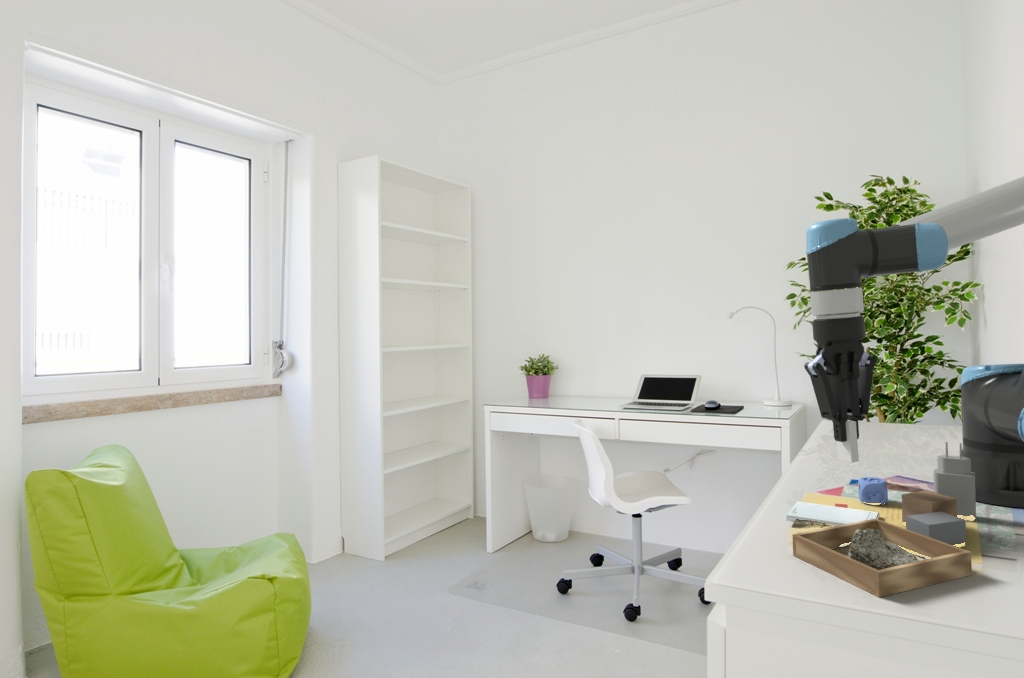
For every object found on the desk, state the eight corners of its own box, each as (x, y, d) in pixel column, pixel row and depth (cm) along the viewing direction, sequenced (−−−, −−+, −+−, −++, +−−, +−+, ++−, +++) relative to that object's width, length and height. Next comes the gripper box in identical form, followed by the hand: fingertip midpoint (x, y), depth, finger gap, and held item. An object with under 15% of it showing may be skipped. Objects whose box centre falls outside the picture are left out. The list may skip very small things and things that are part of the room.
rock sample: (932, 566, 74) (881, 504, 80) (875, 599, 77) (830, 536, 83) (954, 578, 80) (905, 519, 87) (901, 608, 83) (857, 549, 89)
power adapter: (935, 511, 103) (933, 439, 103) (976, 516, 100) (974, 442, 100) (934, 516, 101) (932, 443, 100) (976, 521, 98) (974, 446, 97)
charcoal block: (942, 537, 92) (941, 511, 92) (966, 547, 88) (965, 520, 88) (906, 542, 91) (905, 515, 91) (929, 552, 87) (928, 524, 87)
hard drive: (786, 513, 103) (872, 525, 95) (797, 500, 109) (879, 510, 102) (786, 523, 103) (873, 536, 95) (797, 509, 109) (879, 520, 102)
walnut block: (926, 521, 99) (925, 490, 99) (957, 531, 95) (956, 498, 94) (902, 526, 98) (901, 494, 98) (932, 536, 93) (931, 503, 93)
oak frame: (876, 538, 93) (875, 518, 93) (971, 575, 80) (971, 551, 80) (793, 555, 89) (792, 534, 89) (879, 597, 75) (878, 572, 75)
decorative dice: (858, 498, 112) (857, 476, 112) (884, 499, 111) (883, 477, 110) (861, 505, 108) (860, 482, 108) (888, 506, 107) (887, 483, 107)
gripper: (850, 313, 107) (860, 450, 107) (787, 320, 103) (799, 462, 103) (888, 311, 99) (899, 458, 100) (823, 319, 95) (835, 471, 96)
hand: (848, 460), depth 102 cm, fingers closed
